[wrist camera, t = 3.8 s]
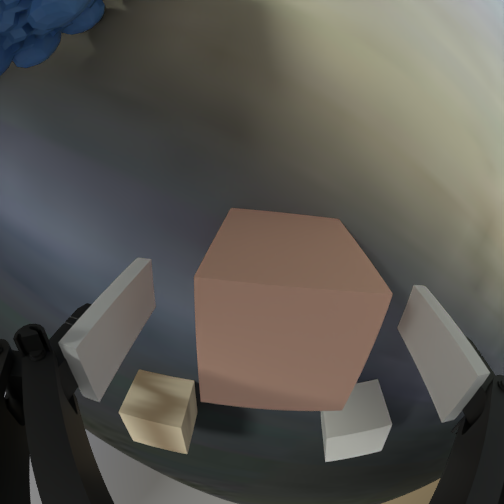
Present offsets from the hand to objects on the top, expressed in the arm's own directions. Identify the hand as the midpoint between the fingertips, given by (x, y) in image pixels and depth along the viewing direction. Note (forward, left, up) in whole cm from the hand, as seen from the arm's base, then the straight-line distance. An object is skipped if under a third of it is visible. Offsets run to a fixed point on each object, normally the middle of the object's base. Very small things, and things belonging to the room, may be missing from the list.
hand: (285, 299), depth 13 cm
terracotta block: (0, 0, -4) cm, 4 cm away
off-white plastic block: (+8, -13, -4) cm, 16 cm away
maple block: (-8, -14, -4) cm, 17 cm away
